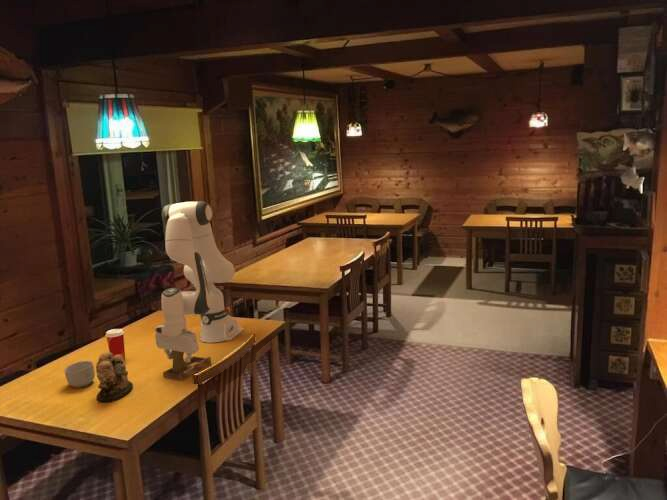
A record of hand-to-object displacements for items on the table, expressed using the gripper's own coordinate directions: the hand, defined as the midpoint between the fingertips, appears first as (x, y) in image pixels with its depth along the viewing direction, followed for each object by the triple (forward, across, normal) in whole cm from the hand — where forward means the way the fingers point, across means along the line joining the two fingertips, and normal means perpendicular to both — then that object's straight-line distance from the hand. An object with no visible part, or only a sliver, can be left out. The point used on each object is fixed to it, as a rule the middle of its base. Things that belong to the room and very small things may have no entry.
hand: (179, 360), depth 230 cm
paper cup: (+6, +37, -1) cm, 38 cm away
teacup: (+6, +33, +21) cm, 40 cm away
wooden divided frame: (+6, 0, -4) cm, 8 cm away
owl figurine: (+6, +12, +23) cm, 27 cm away
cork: (+6, 0, 0) cm, 6 cm away
